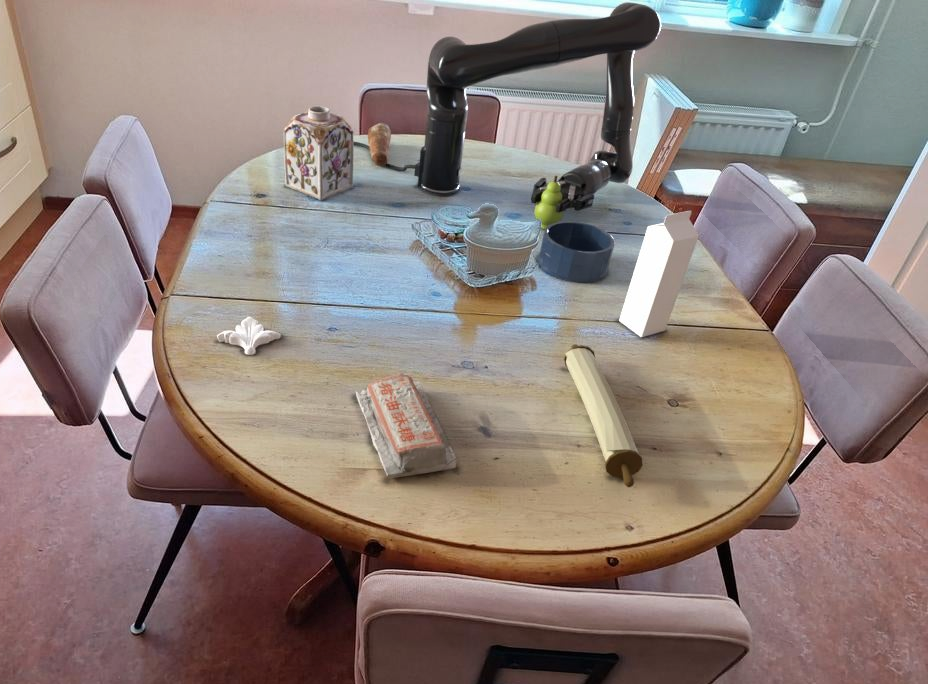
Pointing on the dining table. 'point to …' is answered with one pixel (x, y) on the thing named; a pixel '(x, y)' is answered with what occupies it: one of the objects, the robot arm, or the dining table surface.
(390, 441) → the packaged product
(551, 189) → the pear
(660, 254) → the milk
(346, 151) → the decorative jar
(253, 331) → the acanthus leaf ornament
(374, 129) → the bread
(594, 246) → the pot
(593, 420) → the rolling pin
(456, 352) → the dining table surface
